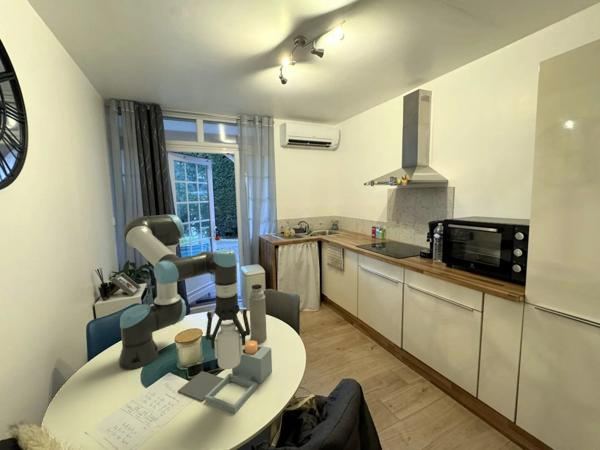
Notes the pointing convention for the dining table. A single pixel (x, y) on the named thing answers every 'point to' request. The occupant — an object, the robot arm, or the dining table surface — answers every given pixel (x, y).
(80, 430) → the dining table surface
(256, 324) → the thermos bottle
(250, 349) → the plunger
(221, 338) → the pill bottle
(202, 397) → the mat
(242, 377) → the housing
